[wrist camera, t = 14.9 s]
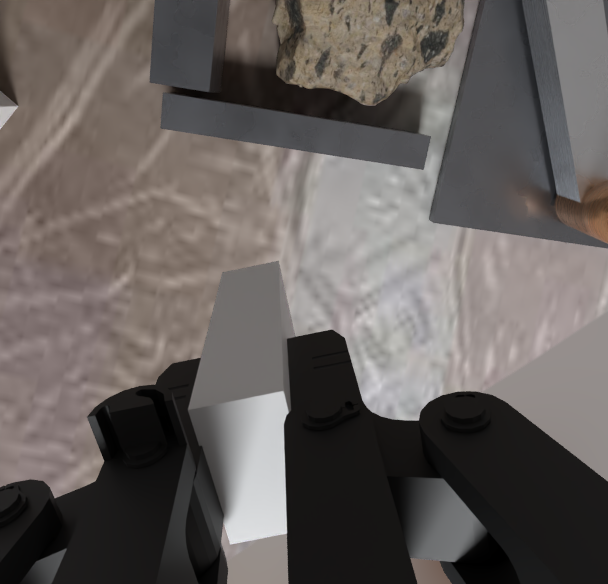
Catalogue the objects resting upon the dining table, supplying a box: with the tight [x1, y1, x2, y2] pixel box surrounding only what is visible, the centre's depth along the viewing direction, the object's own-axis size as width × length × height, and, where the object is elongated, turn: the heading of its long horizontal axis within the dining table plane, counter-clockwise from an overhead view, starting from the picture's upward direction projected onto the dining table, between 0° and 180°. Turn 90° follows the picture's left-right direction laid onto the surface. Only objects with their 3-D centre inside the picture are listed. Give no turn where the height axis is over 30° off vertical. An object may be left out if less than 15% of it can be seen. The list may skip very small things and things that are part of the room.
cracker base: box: [150, 0, 608, 248], centre depth 32 cm, size 20×34×7 cm, turn 81°
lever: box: [522, 0, 608, 244], centre depth 30 cm, size 21×5×9 cm, turn 19°
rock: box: [272, 0, 465, 106], centre depth 33 cm, size 11×11×4 cm
